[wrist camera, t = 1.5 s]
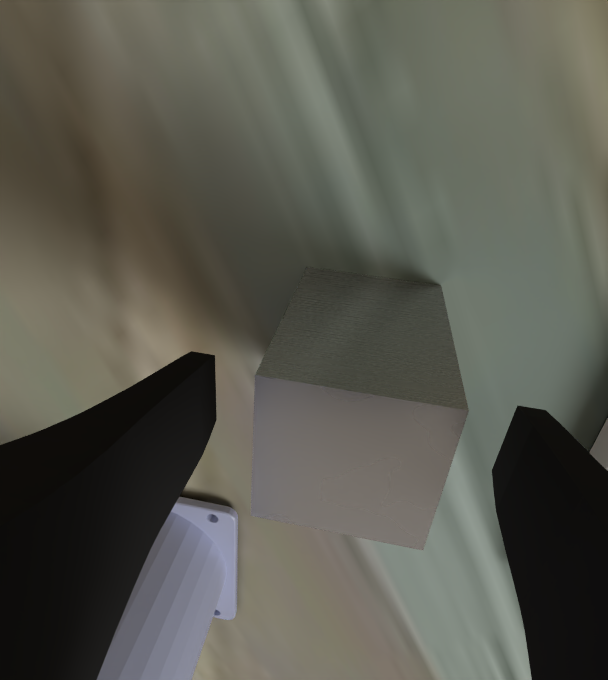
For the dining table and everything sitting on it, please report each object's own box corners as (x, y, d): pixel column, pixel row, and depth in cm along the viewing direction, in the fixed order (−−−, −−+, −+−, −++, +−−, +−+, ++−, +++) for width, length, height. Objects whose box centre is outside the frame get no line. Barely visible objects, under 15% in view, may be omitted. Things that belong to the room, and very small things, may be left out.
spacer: (297, 375, 16) (250, 515, 11) (307, 266, 14) (254, 374, 9) (414, 394, 16) (423, 550, 10) (441, 285, 14) (468, 410, 8)
